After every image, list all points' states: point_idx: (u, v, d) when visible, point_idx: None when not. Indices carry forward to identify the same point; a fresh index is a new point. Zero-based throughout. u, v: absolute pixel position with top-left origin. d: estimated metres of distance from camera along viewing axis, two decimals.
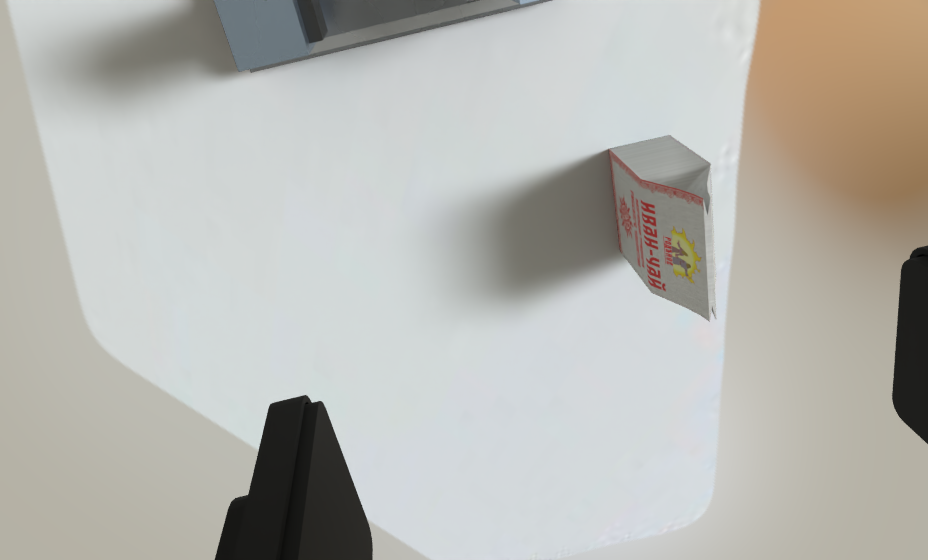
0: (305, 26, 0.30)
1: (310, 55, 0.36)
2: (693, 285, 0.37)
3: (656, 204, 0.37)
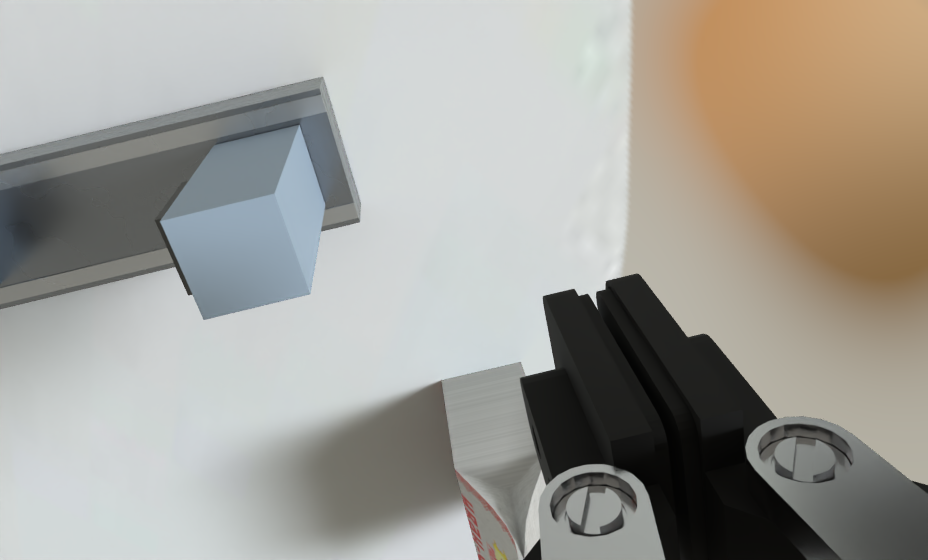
0: None
1: None
2: None
3: (473, 505, 0.27)
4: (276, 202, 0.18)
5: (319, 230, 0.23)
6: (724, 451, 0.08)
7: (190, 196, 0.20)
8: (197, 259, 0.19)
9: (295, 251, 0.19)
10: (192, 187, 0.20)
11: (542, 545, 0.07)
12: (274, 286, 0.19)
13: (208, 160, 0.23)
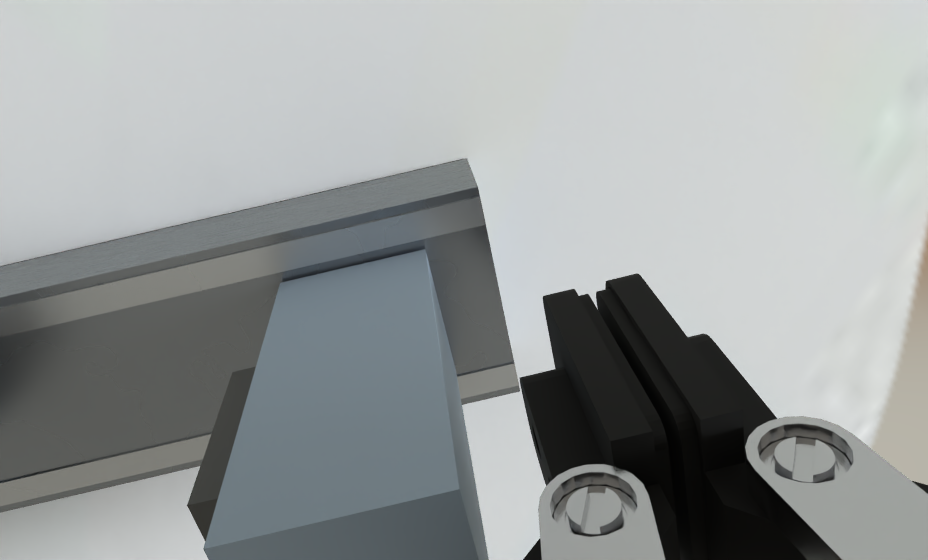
0: None
1: None
2: None
3: None
4: (460, 505, 0.08)
5: (467, 444, 0.13)
6: (724, 451, 0.08)
7: (261, 452, 0.10)
8: None
9: None
10: (259, 416, 0.10)
11: (542, 545, 0.07)
12: None
13: (278, 327, 0.13)
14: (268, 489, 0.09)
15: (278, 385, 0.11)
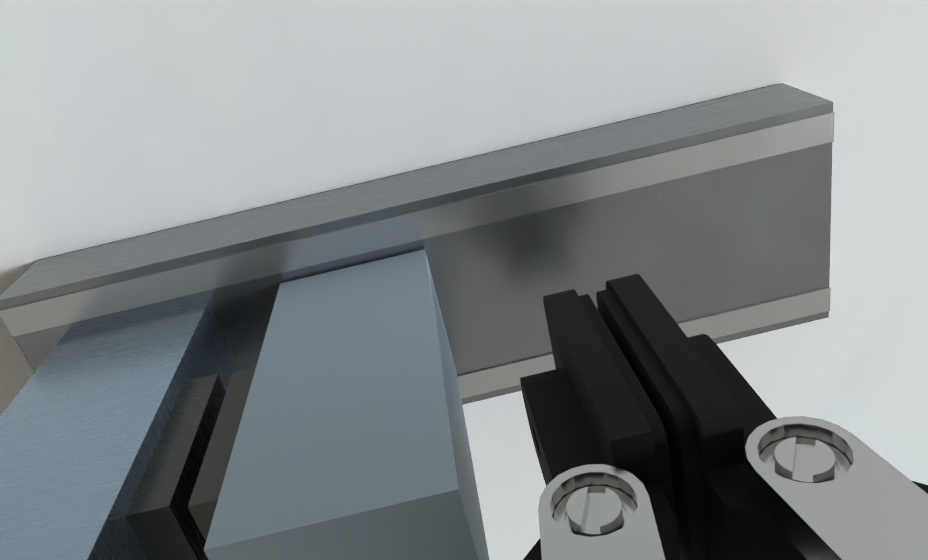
0: None
1: None
2: None
3: None
4: (459, 505, 0.08)
5: (468, 443, 0.13)
6: (724, 451, 0.08)
7: (260, 453, 0.10)
8: None
9: None
10: (259, 416, 0.10)
11: (542, 544, 0.07)
12: None
13: (277, 328, 0.13)
14: (268, 490, 0.09)
15: (278, 386, 0.11)
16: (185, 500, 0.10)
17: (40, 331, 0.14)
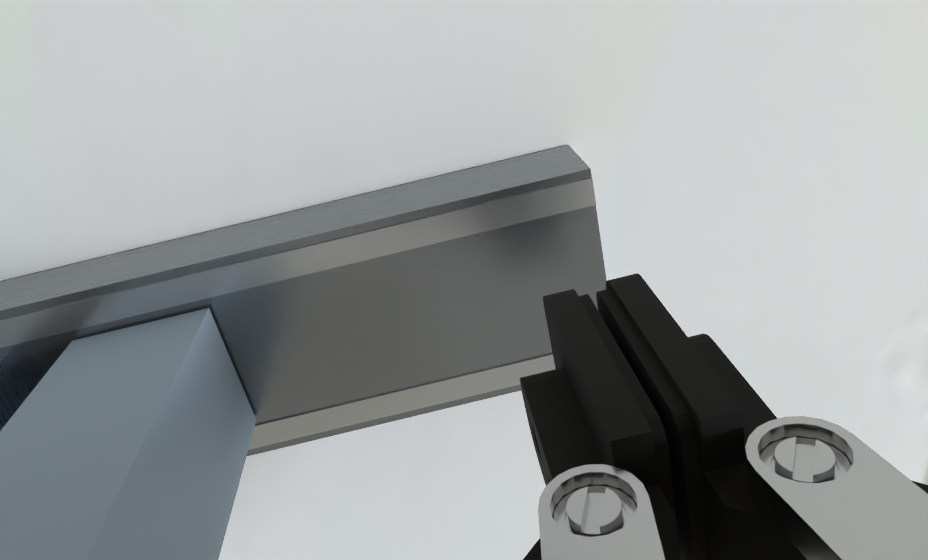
0: None
1: None
2: None
3: None
4: None
5: (232, 495, 0.14)
6: (724, 451, 0.08)
7: None
8: None
9: None
10: None
11: (542, 545, 0.07)
12: None
13: (42, 388, 0.14)
14: None
15: (7, 450, 0.12)
16: None
17: None
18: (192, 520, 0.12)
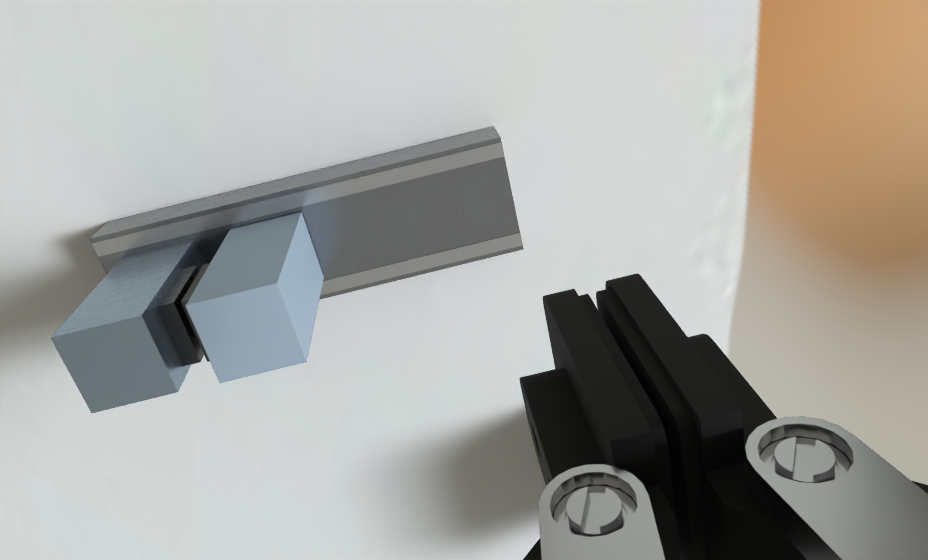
0: (177, 348, 0.25)
1: None
2: None
3: None
4: (278, 290, 0.23)
5: (317, 302, 0.28)
6: (724, 451, 0.08)
7: (209, 282, 0.24)
8: (215, 335, 0.23)
9: (294, 328, 0.24)
10: (211, 273, 0.25)
11: (542, 544, 0.07)
12: (276, 355, 0.24)
13: (225, 245, 0.27)
14: (210, 290, 0.23)
15: (220, 263, 0.26)
16: (180, 304, 0.25)
17: (111, 254, 0.29)
18: (304, 298, 0.26)
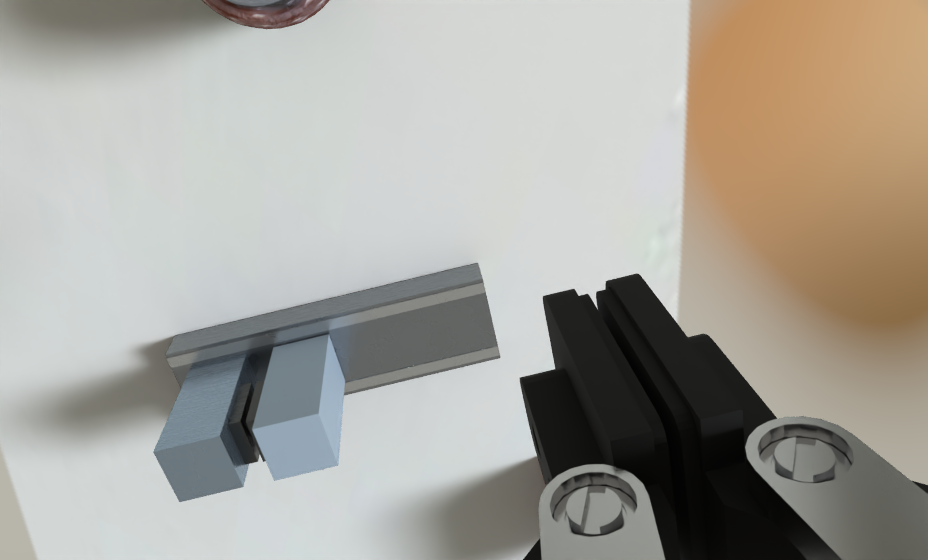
0: (241, 452, 0.34)
1: None
2: None
3: None
4: (319, 418, 0.32)
5: (342, 407, 0.37)
6: (724, 451, 0.08)
7: (266, 406, 0.33)
8: (272, 448, 0.32)
9: (330, 443, 0.32)
10: (266, 396, 0.34)
11: (542, 545, 0.07)
12: (316, 461, 0.33)
13: (272, 366, 0.36)
14: (268, 415, 0.32)
15: (272, 386, 0.34)
16: (244, 421, 0.33)
17: (181, 365, 0.38)
18: (334, 411, 0.35)
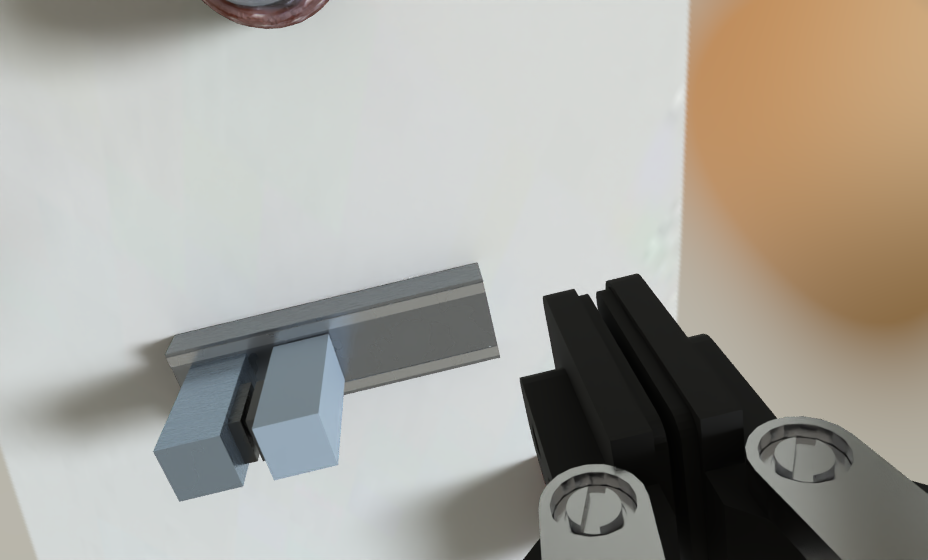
0: (241, 452, 0.34)
1: None
2: None
3: None
4: (319, 417, 0.32)
5: (341, 407, 0.37)
6: (724, 451, 0.08)
7: (266, 405, 0.33)
8: (272, 448, 0.32)
9: (329, 442, 0.32)
10: (266, 395, 0.34)
11: (542, 545, 0.07)
12: (316, 461, 0.33)
13: (272, 365, 0.36)
14: (268, 415, 0.32)
15: (271, 386, 0.34)
16: (243, 420, 0.33)
17: (181, 365, 0.38)
18: (334, 411, 0.35)
